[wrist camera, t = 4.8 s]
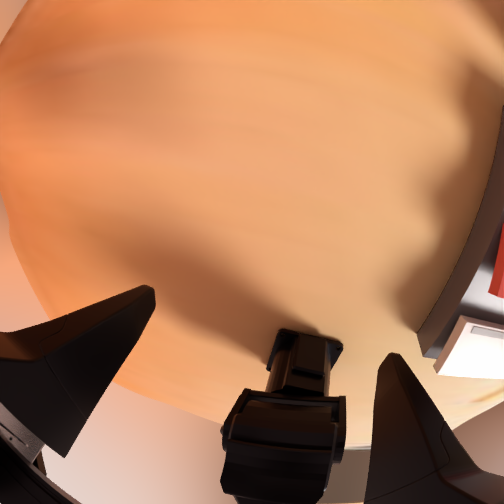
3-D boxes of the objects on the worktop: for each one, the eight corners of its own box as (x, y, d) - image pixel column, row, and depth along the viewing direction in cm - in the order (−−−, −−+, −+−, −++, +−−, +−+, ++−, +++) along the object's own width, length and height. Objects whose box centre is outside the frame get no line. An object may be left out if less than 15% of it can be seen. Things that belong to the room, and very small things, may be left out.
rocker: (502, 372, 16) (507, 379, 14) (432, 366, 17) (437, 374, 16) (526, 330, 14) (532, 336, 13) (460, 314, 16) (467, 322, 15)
